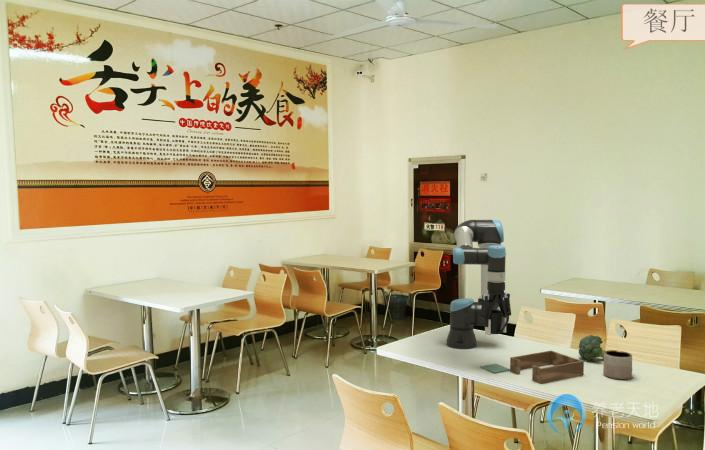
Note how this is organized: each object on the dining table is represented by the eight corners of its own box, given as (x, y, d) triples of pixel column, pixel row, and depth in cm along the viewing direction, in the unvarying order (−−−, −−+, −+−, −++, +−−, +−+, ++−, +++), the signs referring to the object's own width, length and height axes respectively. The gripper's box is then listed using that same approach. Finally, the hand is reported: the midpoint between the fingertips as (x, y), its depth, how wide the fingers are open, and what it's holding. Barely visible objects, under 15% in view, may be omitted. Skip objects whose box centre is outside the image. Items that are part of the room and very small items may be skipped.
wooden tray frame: (510, 371, 238) (510, 357, 237) (550, 363, 248) (551, 350, 248) (541, 383, 222) (541, 369, 221) (583, 375, 232) (583, 361, 232)
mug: (501, 338, 232) (502, 315, 232) (479, 332, 242) (479, 311, 241) (513, 334, 238) (513, 313, 237) (490, 329, 247) (491, 308, 246)
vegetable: (618, 361, 245) (587, 346, 245) (600, 374, 254) (570, 359, 254) (617, 340, 254) (588, 325, 254) (600, 353, 263) (572, 339, 263)
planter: (597, 373, 234) (597, 351, 234) (616, 370, 238) (616, 349, 238) (618, 381, 224) (619, 358, 224) (637, 378, 228) (638, 355, 228)
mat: (480, 367, 243) (480, 366, 242) (496, 364, 246) (496, 363, 246) (493, 373, 234) (493, 372, 234) (510, 370, 238) (510, 369, 238)
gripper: (482, 284, 230) (482, 337, 232) (520, 280, 240) (519, 332, 241) (471, 281, 237) (470, 333, 238) (508, 278, 246) (508, 328, 247)
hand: (495, 333), depth 240 cm, fingers closed on mug, 8 cm apart
